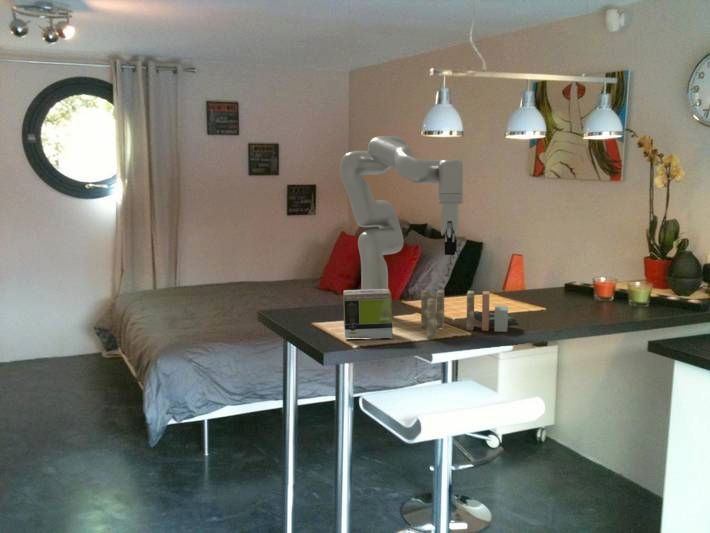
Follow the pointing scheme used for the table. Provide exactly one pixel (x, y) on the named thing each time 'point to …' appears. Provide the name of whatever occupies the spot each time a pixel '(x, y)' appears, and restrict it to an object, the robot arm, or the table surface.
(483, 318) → the domino
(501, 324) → the block
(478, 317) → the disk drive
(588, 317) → the table surface
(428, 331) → the domino
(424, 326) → the domino
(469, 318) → the domino
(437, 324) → the domino
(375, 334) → the tea box
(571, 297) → the table surface
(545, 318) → the table surface
